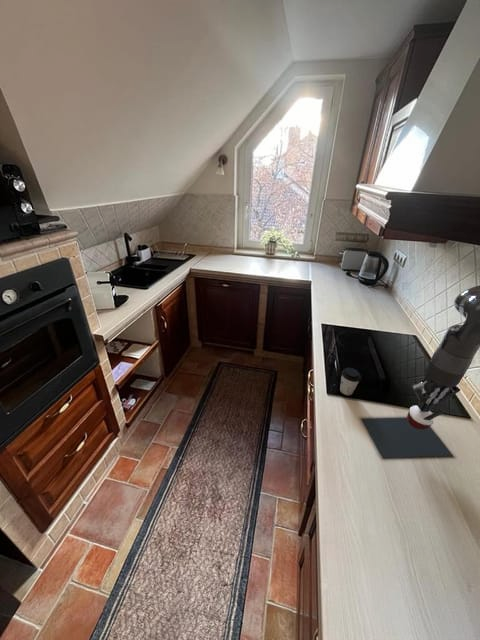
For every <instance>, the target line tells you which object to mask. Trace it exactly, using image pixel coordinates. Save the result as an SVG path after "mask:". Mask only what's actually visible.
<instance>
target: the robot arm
mask: <svg viewBox="0 0 480 640" xmlns="http://www.w3.org/2000/svg"><path fill="white" fill-rule="evenodd" d="M453 305H454V308H455V310H456V311H457V312H458V313H459V314H460V315H461V316H462V317H463V318H465V320H464V323H462V324H453V325H451V326H449V328H448V329H446V331H445V333H444V335H443V337H442V339H441V341H440V343H439V345H438V346H437V347H436V348H435V350H434V352H433V354H432V356H431V358H430V360H429V361H428V364H427V365H426V368H425V376H424V377H423V378H422V379H421V382H419V383H417V384H416V383H415V382H412V383H411V384H410V387H411V389H412V391H413V394H414V395H415V397H416V398H417V399H418V400H419V402H418V403H417V406H418V408H419V409H420V410H421V411H422V412H429V411H430V412H431V410H432V409H433V407H434V405H435V404H438V402H440V403H443V402H445V401H446V400H448V399H450V398H451V397H454V395H457V394H458V393H460V392H461V388H460V387H459V386H458V385H459V384H460V383H461V381H462V380H463V378H464V376H465V375H466V373H467V371H468V370H469V368H470V367H471V364H473V363H472V362H473V360H474V357H476V354H477V352H478V351H479V349H480V285H476V286H472V287H469V288H467V289H464V290H463V291H461V293H459V294H458V295H457V296H456V297H455V299H454V302H453Z"/></svg>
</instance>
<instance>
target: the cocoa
mask: <svg viewBox="0 0 480 640" xmlns="http://www.w3.org/2000/svg"><path fill="white" fill-rule="evenodd" d="M445 413H446V412H445V411H444V410H439V409H438V410H437V411H435V412H432V411H431V410H430V411H429V412H422V411H421V410H420V409H419V408H418V405H411V406H410V408H409V411H408V412H407V416H406V418H407V419H408V422H409V423H410V424H411V425H412V426H413V427H414V428H417V429H421V430H424V429H427V428H428V427H431V426H432V425H433V424H434V419H435V418H438V417H440V416H442V415H443V414H445Z"/></svg>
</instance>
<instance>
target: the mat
mask: <svg viewBox="0 0 480 640" xmlns="http://www.w3.org/2000/svg"><path fill="white" fill-rule="evenodd" d="M361 421H362V423H363V425H364V427H365V429H366V430H367V432H368V434H369V436H370V438H371V440H372V442H373V443H374V446H375V447H376V450H377V451H378V452H379V454H380V456H381V458H382V459H400V458H401V459H402V458H403V459H404V458H405V459H406V458H439V457H440V458H443V457H444V458H445V457H454V455H453V453H452V452H451V451H450V449H449V448H448V447H447V446H446V445H445V443H444V442H443V441H442V439H441V438H440V437H439V436H438V434H437V433H436V432H435V431H434V430H433V428H432V427H431V426H430V427H428V428H427V429H424V430H421V429H417V428H414V427H413V426H412V425H411V424H410V423H409V422H408V419H407V417H370V418H369V417H368V418H367V417H365V418H364V417H362V418H361Z"/></svg>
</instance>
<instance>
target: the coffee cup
mask: <svg viewBox="0 0 480 640" xmlns="http://www.w3.org/2000/svg"><path fill="white" fill-rule="evenodd" d="M361 380H362V375H361V373H360V372H359V371H358V370H357V369H356V368H352V367H346V368H343V370H342V371H341V377H340V387H339V392H340V393H341V394H343V395H345V396H352V395H353V393H354V391H355V390H356V388H357V386H358V384H359V382H360V381H361Z"/></svg>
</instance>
